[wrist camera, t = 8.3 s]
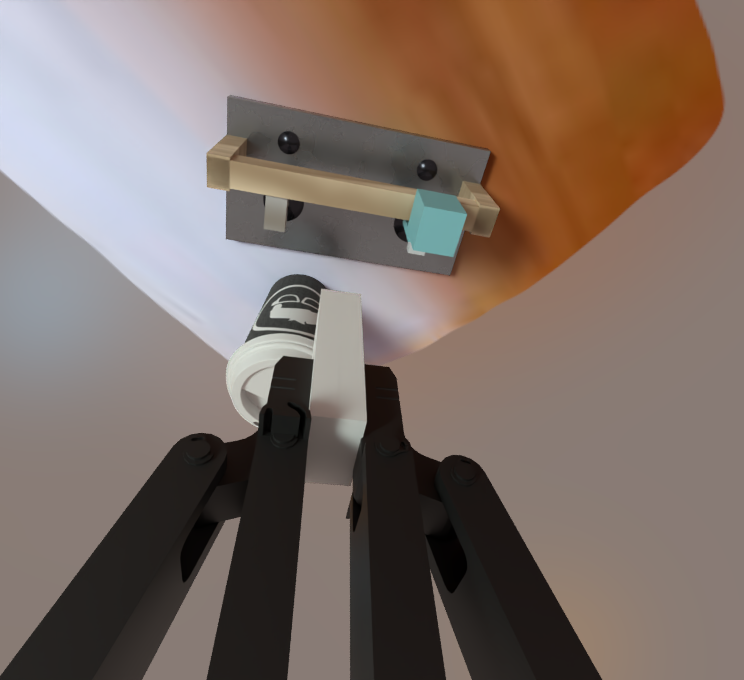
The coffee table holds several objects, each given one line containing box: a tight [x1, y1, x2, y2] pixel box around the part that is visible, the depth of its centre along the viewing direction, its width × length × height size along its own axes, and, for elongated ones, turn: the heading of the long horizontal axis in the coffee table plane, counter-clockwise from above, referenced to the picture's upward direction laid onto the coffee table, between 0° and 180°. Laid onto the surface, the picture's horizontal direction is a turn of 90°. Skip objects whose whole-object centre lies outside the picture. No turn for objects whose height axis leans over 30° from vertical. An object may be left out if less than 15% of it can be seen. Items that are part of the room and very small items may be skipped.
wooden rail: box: [207, 135, 500, 237], centre depth 37 cm, size 5×22×6 cm, turn 79°
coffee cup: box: [226, 274, 326, 427], centre depth 41 cm, size 10×10×15 cm
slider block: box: [403, 189, 467, 257], centre depth 36 cm, size 6×3×10 cm, turn 169°
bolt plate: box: [226, 95, 491, 275], centre depth 40 cm, size 12×22×1 cm, turn 79°
